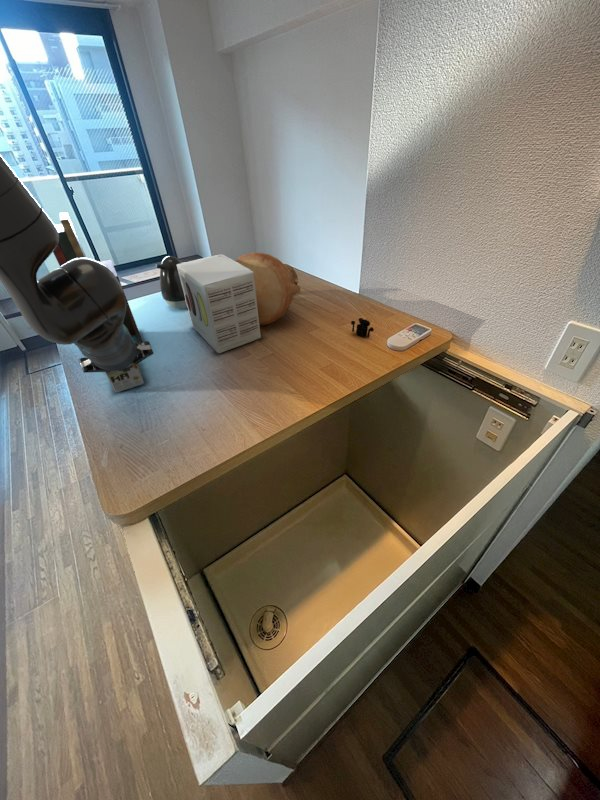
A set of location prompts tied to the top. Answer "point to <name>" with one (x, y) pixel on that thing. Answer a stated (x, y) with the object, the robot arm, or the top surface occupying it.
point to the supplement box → (221, 301)
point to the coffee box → (125, 378)
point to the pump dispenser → (171, 283)
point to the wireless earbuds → (362, 327)
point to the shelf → (73, 249)
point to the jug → (271, 285)
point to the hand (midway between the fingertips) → (125, 366)
